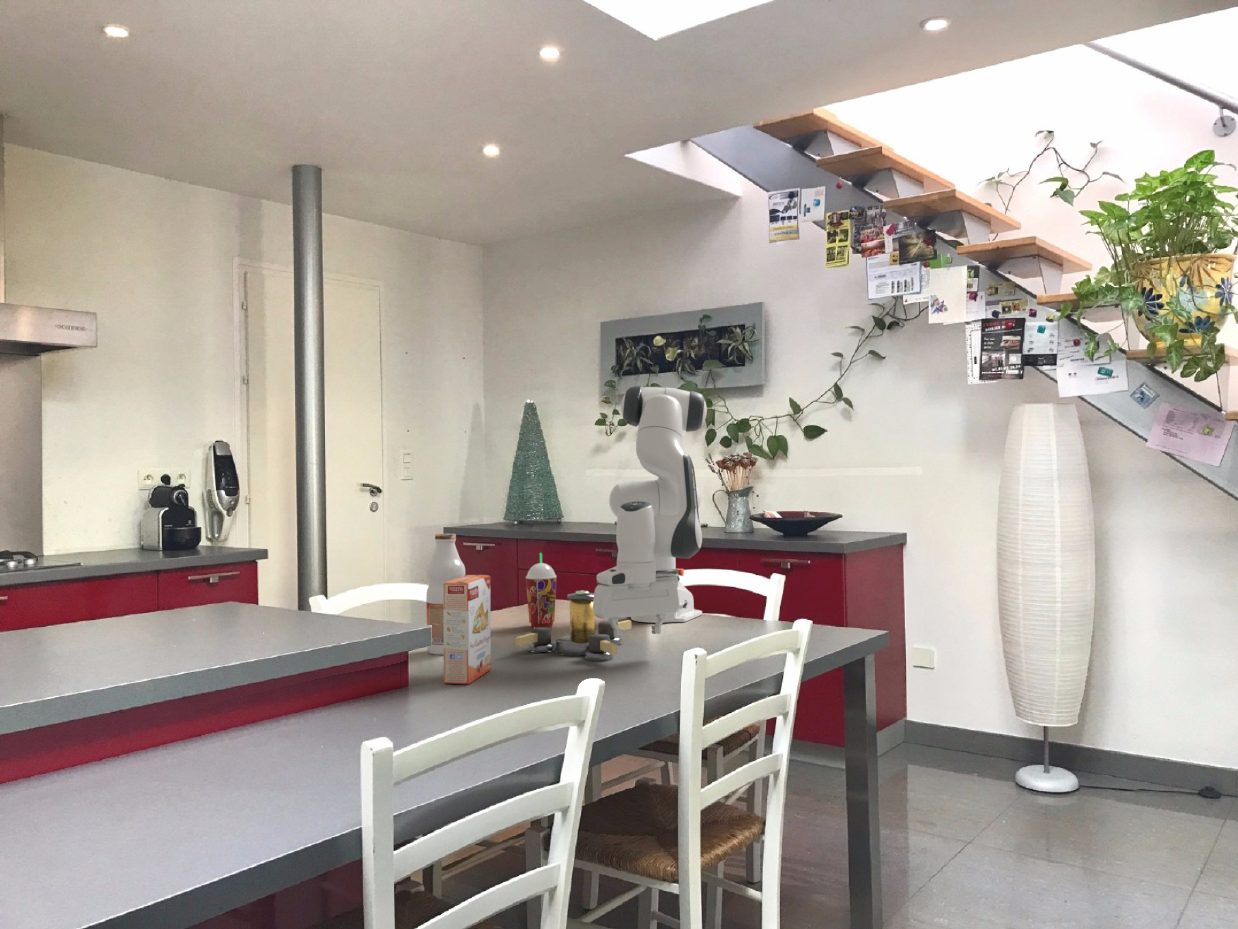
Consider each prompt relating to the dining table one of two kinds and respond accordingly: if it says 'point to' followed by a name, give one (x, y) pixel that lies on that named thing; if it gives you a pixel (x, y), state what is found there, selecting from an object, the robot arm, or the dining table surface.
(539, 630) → the knob
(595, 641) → the knob
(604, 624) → the lever knob
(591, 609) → the tribrach
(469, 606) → the cracker box
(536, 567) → the smoothie
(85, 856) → the dining table surface
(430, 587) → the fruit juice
